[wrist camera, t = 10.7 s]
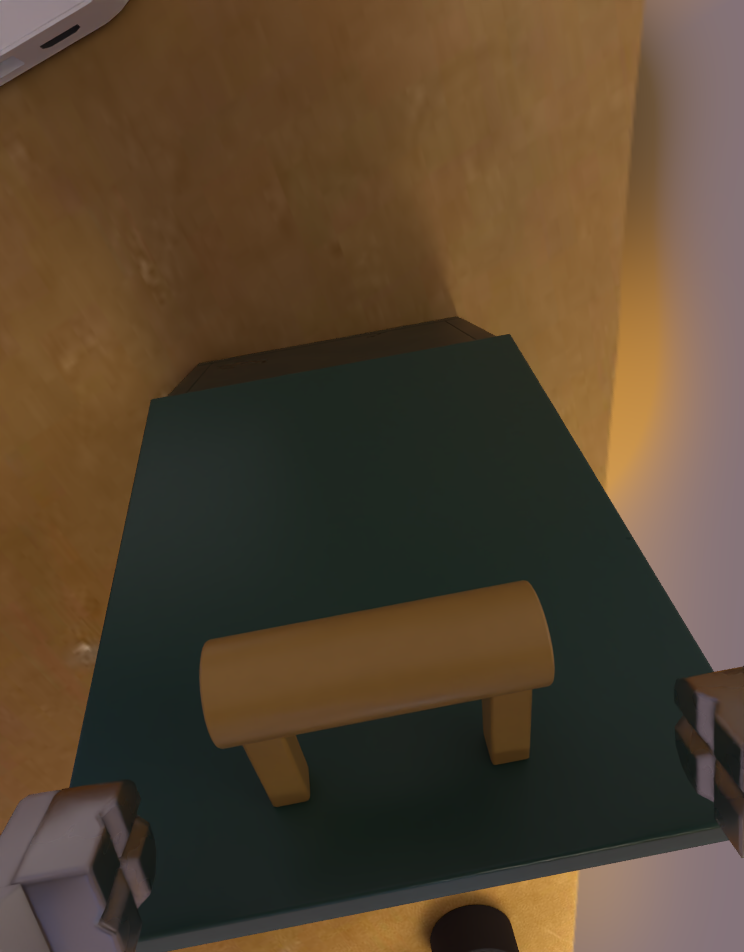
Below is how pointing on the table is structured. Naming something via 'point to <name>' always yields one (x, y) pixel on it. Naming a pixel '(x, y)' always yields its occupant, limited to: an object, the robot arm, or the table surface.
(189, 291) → the table surface
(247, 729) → the lid
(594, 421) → the table surface
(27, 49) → the computer
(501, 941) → the tape
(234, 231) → the table surface
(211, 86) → the table surface
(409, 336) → the tin box
